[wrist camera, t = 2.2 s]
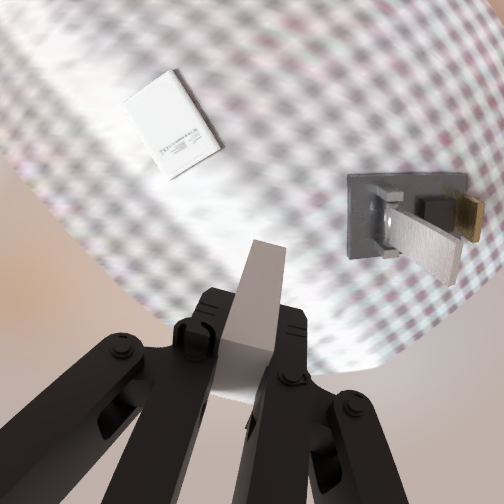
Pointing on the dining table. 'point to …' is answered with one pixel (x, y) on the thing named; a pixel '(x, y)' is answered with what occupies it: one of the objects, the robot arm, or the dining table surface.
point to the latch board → (408, 208)
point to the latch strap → (422, 242)
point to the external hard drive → (170, 125)
